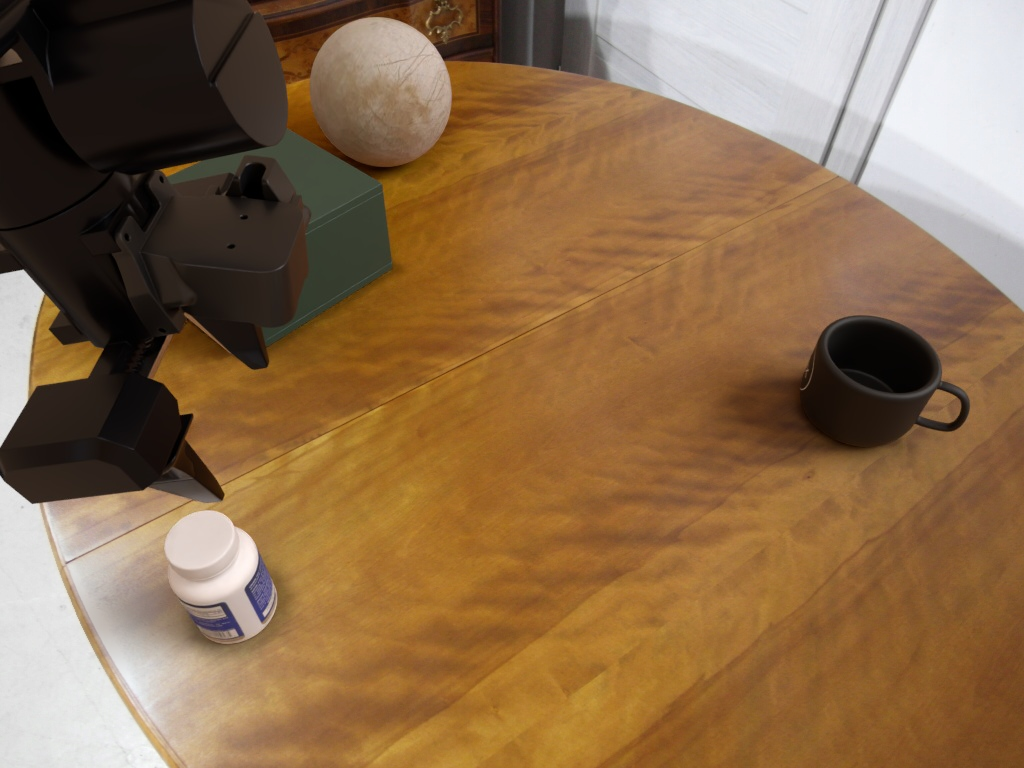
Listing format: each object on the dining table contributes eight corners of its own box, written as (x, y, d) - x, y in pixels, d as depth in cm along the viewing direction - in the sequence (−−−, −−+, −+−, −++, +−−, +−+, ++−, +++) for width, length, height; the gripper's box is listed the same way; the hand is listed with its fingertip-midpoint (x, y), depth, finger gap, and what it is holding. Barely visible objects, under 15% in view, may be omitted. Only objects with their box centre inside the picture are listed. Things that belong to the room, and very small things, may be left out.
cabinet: (259, 352, 67) (231, 265, 60) (167, 277, 74) (132, 191, 67) (393, 268, 75) (382, 183, 68) (299, 208, 82) (281, 124, 75)
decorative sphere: (448, 119, 94) (442, -10, 83) (460, 189, 85) (454, 53, 73) (323, 126, 93) (300, -4, 82) (320, 198, 83) (293, 61, 72)
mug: (779, 430, 62) (805, 369, 57) (808, 360, 68) (834, 299, 63) (935, 491, 59) (978, 432, 53) (952, 412, 64) (993, 352, 59)
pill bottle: (251, 557, 54) (217, 484, 47) (293, 608, 51) (264, 538, 45) (181, 607, 51) (135, 537, 45) (222, 663, 49) (180, 597, 42)
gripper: (148, 314, 23) (348, 570, 34) (289, 38, 36) (402, 291, 47) (-155, 366, 25) (127, 591, 36) (79, 88, 38) (235, 319, 49)
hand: (240, 428), depth 42 cm, fingers open, 9 cm apart
